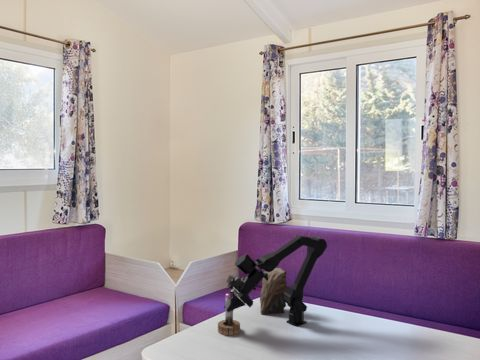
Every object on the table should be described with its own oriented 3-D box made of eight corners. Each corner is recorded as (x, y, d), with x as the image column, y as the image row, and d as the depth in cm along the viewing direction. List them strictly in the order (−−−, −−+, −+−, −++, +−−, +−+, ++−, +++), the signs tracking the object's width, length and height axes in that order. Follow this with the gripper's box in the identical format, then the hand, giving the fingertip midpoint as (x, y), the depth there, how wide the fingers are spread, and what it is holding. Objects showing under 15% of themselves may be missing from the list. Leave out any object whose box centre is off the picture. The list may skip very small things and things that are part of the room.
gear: (229, 324, 181) (229, 318, 181) (244, 331, 175) (244, 324, 175) (213, 330, 175) (213, 323, 175) (227, 337, 169) (228, 329, 169)
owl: (259, 305, 207) (260, 264, 206) (285, 305, 206) (286, 265, 205) (260, 314, 194) (260, 271, 193) (287, 315, 193) (288, 272, 193)
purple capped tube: (231, 323, 177) (231, 292, 177) (234, 325, 174) (234, 294, 174) (224, 324, 176) (224, 293, 175) (227, 327, 173) (227, 295, 172)
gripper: (232, 263, 184) (207, 290, 181) (245, 274, 166) (218, 304, 163) (248, 279, 187) (224, 307, 184) (264, 292, 169) (237, 322, 166)
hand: (226, 309), depth 174 cm, fingers closed on purple capped tube, 3 cm apart
